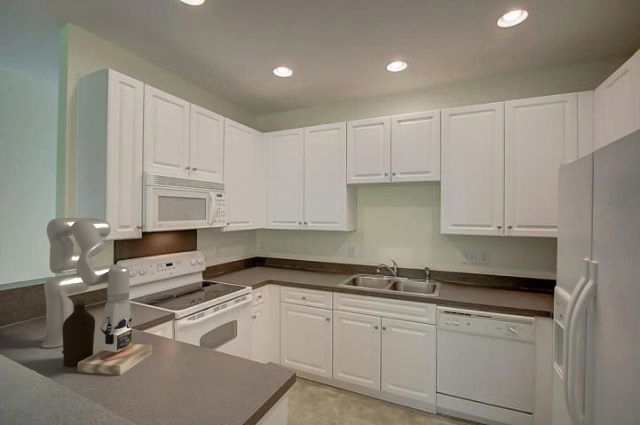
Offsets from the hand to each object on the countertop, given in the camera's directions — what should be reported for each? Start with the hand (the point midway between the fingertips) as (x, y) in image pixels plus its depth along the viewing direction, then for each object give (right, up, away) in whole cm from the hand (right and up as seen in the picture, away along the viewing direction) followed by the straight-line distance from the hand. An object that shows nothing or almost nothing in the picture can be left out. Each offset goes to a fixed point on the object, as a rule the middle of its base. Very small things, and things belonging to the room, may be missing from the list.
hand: (117, 339), depth 122 cm
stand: (0, -9, 0) cm, 9 cm away
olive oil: (-16, -9, 0) cm, 19 cm away
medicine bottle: (0, -4, 0) cm, 4 cm away
